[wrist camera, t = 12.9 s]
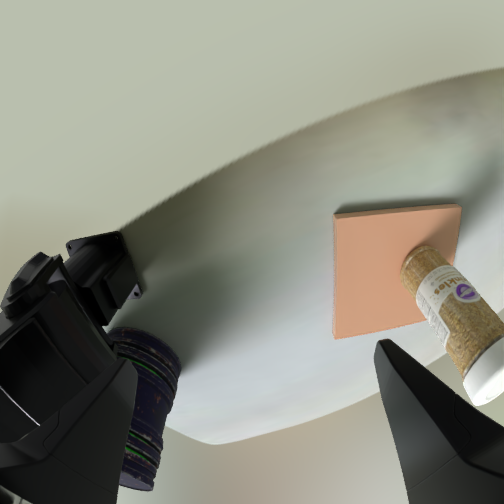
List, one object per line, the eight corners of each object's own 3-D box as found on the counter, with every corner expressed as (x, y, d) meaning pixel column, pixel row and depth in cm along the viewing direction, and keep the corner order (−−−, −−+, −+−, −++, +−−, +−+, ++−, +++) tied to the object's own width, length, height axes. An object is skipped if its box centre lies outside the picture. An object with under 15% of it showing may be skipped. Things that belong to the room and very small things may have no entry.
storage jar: (199, 374, 29) (177, 495, 15) (142, 388, 31) (112, 485, 18) (140, 314, 25) (81, 448, 11) (88, 339, 27) (35, 439, 14)
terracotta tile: (332, 332, 25) (334, 339, 24) (333, 214, 20) (336, 219, 19) (434, 311, 24) (438, 316, 23) (455, 203, 19) (461, 207, 18)
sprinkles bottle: (437, 236, 19) (539, 340, 7) (440, 277, 21) (518, 382, 9) (393, 256, 20) (484, 384, 8) (400, 296, 22) (467, 418, 10)
